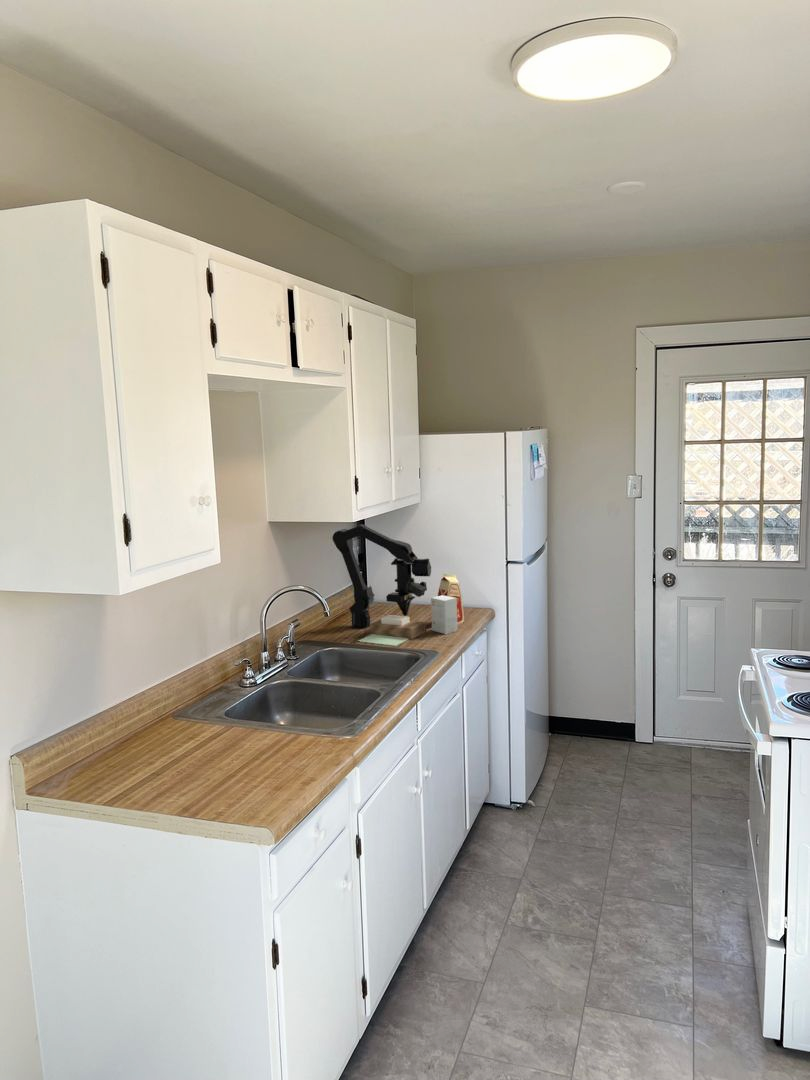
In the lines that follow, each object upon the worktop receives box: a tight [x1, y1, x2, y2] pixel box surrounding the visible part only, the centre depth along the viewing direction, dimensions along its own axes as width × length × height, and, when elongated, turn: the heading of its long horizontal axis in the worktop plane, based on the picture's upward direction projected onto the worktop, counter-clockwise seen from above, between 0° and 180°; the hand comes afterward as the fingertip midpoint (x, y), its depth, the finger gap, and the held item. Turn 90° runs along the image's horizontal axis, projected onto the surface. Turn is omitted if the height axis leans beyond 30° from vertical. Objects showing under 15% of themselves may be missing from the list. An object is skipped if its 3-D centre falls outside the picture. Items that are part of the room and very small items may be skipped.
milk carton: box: [437, 573, 465, 625], centre depth 319 cm, size 9×9×20 cm
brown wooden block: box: [369, 618, 425, 640], centre depth 305 cm, size 18×10×4 cm, turn 61°
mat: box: [358, 634, 410, 647], centre depth 296 cm, size 16×10×1 cm, turn 61°
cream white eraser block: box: [380, 614, 411, 626], centre depth 306 cm, size 9×6×2 cm, turn 61°
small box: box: [430, 595, 458, 635], centre depth 306 cm, size 8×6×13 cm
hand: (405, 615), depth 312 cm, fingers closed
